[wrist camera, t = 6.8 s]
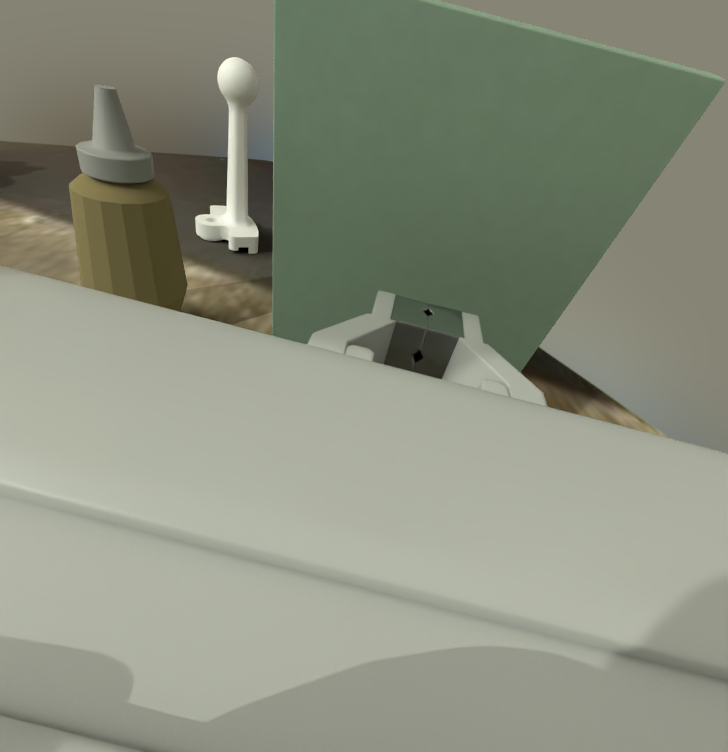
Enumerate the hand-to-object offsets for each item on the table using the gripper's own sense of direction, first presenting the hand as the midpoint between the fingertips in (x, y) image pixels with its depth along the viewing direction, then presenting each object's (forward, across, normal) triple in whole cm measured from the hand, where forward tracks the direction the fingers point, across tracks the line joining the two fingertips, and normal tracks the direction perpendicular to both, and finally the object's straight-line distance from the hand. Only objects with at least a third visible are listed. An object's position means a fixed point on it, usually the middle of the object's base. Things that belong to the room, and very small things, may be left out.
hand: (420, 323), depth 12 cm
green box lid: (+5, 0, 0) cm, 5 cm away
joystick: (+42, +24, +18) cm, 51 cm away
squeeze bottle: (+19, +22, +17) cm, 34 cm away
